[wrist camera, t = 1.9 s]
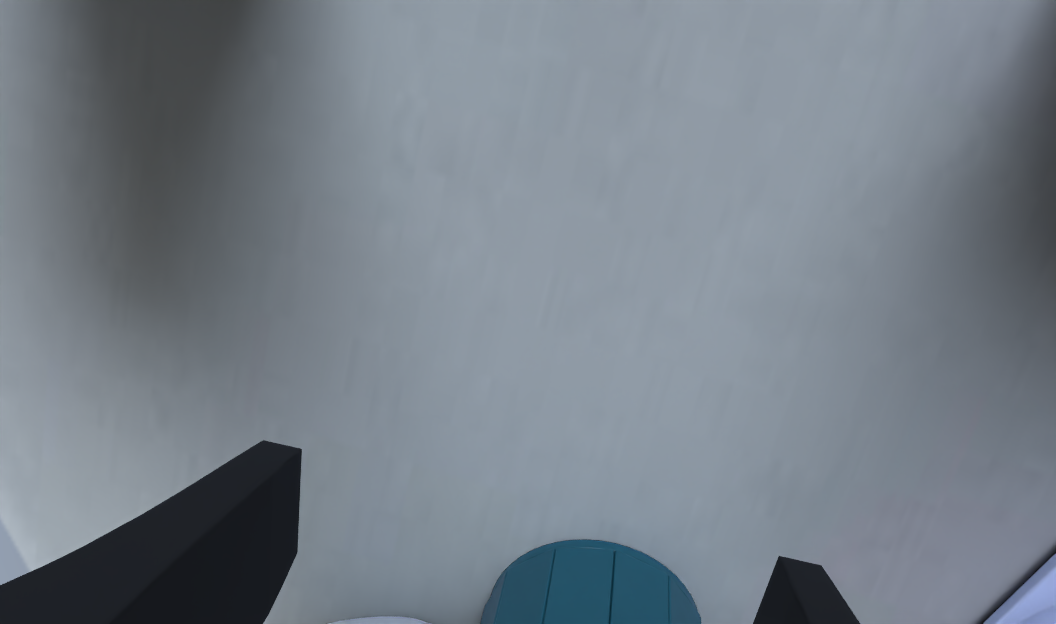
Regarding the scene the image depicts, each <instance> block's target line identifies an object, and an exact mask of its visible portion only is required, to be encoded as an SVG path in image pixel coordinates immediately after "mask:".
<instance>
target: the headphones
mask: <svg viewBox="0 0 1056 624" xmlns="http://www.w3.org/2000/svg"><path fill="white" fill-rule="evenodd" d="M326 624H431V623H427V622H424V621H422V620H419V619H415V618H409V617H397V616H379V617H365V618H356V619H349V620H342V621H337V622H331V623H326Z"/></svg>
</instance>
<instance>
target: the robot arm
mask: <svg viewBox="0 0 1056 624" xmlns="http://www.w3.org/2000/svg"><path fill="white" fill-rule="evenodd" d="M301 453H302V449H300V448H295V447H291V446H286V445H282V444H277V443H273V442H268V441H264V440H263V441H261V442H260V443H258V444H256V445H255V446H253V447H251V448H250V449H248V450H246V451H245V452H243V453H242V454H240V455H238V456H237V457H235V458H234V459H232V460H230V461H229V462H227V463H225V464H224V465H222V466H221V467H219V468H218V469H216V470H214V471H213V472H211V473H210V474H208V475H206V476H205V477H203V478H202V479H200V480H198V481H197V482H195V483H194V484H192V485H190V486H189V487H187V488H185V489H184V490H182V491H181V492H179V493H177V494H176V495H174V496H172V497H170V498H169V499H167V500H165V501H164V502H162V503H160V504H159V505H157V506H155V507H154V508H152V509H150V510H149V511H147V512H145V513H144V514H142V515H140V516H138V517H137V518H135V519H133V520H131V521H129V522H127V523H126V524H124V525H122V526H120V527H118V528H116V529H115V530H113V531H111V532H109V533H107V534H105V535H104V536H102V537H100V538H98V539H96V540H94V541H93V542H91V543H89V544H87V545H85V546H83V547H81V548H79V549H77V550H75V551H73V552H71V553H69V554H67V555H65V556H63V557H61V558H59V559H57V560H55V561H53V562H51V563H49V564H47V565H45V566H43V567H40V568H38V569H36V570H34V571H31V572H29V573H27V574H25V575H23V576H20V577H18V578H16V579H14V580H11V581H9V582H7V583H5V584H2V585H0V624H263V622H264V621H265V619H266V617H267V616H268V614H269V612H270V610H271V608H272V606H273V604H274V602H275V600H276V598H277V596H278V594H279V592H280V590H281V587H282V585H283V583H284V581H285V579H286V577H287V574H288V572H289V570H290V568H291V566H292V563H293V561H294V559H295V557H296V554H297V547H298V524H299V500H300V477H301ZM753 624H860V623H859V621H858V620H857V618H856V617H855V615H854V614H853V612H852V611H851V609H850V608H849V606H848V605H847V603H846V602H845V600H844V599H843V597H842V596H841V594H840V593H839V591H838V590H837V588H836V586H835V585H834V583H833V582H832V580H831V579H830V577H829V576H828V575H827V573H826V572H825V570H824V569H823V567H822V566H821V565H817V564H812V563H808V562H803V561H799V560H794V559H790V558H786V557H781V556H779V557H778V560H777V562H776V565H775V568H774V570H773V573H772V575H771V578H770V581H769V583H768V586H767V588H766V591H765V594H764V596H763V599H762V602H761V604H760V607H759V609H758V612H757V615H756V617H755V620H754V622H753ZM983 624H1056V553H1055V554H1054V555H1053V556H1052V557H1051V558H1050V559H1049V560H1048V561H1047V562H1046V563H1045V564H1044V565H1043V566H1042V567H1041V568H1040V569H1039V570H1038V571H1037V572H1036V573H1035V574H1034V575H1033V576H1032V577H1031V578H1030V579H1029V580H1027V581H1026V582H1025V583H1024V584H1023V585H1022V586H1021V587H1020V588H1019V589H1018V590H1017V591H1016V592H1015V593H1014V594H1013V595H1012V596H1011V597H1010V598H1009V599H1008V600H1007V601H1006V602H1005V603H1004V604H1003V605H1002V606H1001V607H1000V608H998V609H997V610H996V611H995V612H994V613H993V614H992V615H991V616H990V617H989V618H988V619H987V620H986V621H985V622H984V623H983Z"/></svg>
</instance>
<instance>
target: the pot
mask: <svg viewBox="0 0 1056 624" xmlns="http://www.w3.org/2000/svg"><path fill="white" fill-rule="evenodd" d="M480 624H701V617H700V614H699V613H698V611H697V607H696V605H695V603H694V601H693V598H692V596H691V595H690V593H689V592H688V590H687V589H686V587H685V586H684V584H683V583H682V582H681V581H680V580H679V579H678V578H677V576H676V575H674V574H673V573H672V572H671V571H670V570H669V569H668V568H667V567H665V566H664V565H662V564H661V563H659V562H658V561H657V560H655V559H653V558H651V557H650V556H648V555H646V554H644V553H642V552H639V551H637V550H635V549H632V548H630V547H626V546H623V545H619V544H616V543H611V542H605V541H599V540H568V541H560V542H555V543H551V544H548V545H544V546H541V547H539V548H536V549H534V550H532V551H530V552H528V553H526V554H524V555H522V556H521V557H520V558H518V559H517V560H516V561H514V562H513V563H512V564H511V565H510V566H509V567H508V568H507V569H506V570H505V571H504V572H503V573H502V575H501V576H500V577H499V579H498V580H497V582H496V584H495V586H494V588H493V591H492V594H491V597H490V599H489V600H488V602H487V604H486V605H485V608H484V612H483V616H482V620H481V623H480Z"/></svg>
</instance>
